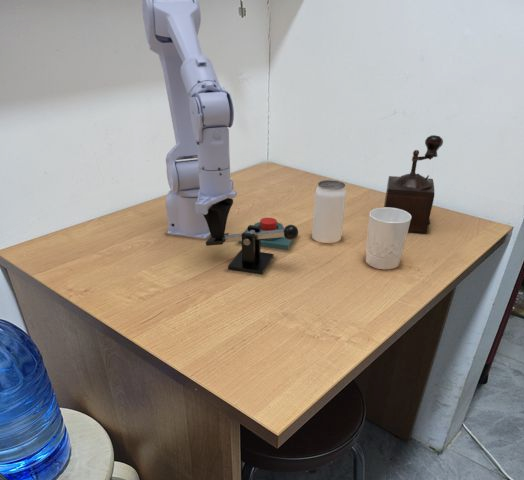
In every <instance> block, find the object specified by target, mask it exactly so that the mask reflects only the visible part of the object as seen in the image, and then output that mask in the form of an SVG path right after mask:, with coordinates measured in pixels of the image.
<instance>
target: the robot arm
mask: <svg viewBox="0 0 524 480" xmlns="http://www.w3.org/2000/svg"><path fill="white" fill-rule="evenodd" d="M141 2H142V3H141V6H142V7H141V8H142V9H141V10H142V20H143V25H144V31H145V36H146V41H147V43H148V46H149V50H150V51H151V52H153V53H155V54H157V55H158V58H159V61H160V64H161V68H162V73H163V77H164V78H163V79H164V83H165V88H166V94H167V100H168V105H169V112H170V118H171V122H172V123H171V124H172V129H173V134H174V139H175V145H174V146H173V147H172V148H171V149H170V150H169V151H168V153H166V157H165V165H166V178H167V182H168V187H169V189H170V190H169V191H168V193H167V194H166V199H165V210H166V211H165V212H166V219H167V228H168V229H167V231H166V234H168V235H174V236H180V237H187V238H194V239H195V238H196V239H202V240H206V239H207V240H208V239H209V238H210V237H212V238H217V239H221V238H222V237H223V236H224V233H226V228H227V227H226V226H227V221H228V217H229V215H230V214H229V213H230V212H231V211H230V210H231V208H232V207H233V204H234V198H236V196H238V192H237V190H234V179H232V178H231V161H230V160H231V158H230V156H231V155H230V128H232V126H233V124H234V119H235V110H234V109H235V108H234V102H233V98H232V96H231V95H232V94H231V93H230V91H229V90H227V89H226V88H225V86H221V85H220V82H219V80H218V77H217V75H216V72H215V68H214V66H213V64H212V61H211V59H210V58H209V57H208V56H205V55H204V54H203V52H202V48H201V45H200V40H199V37H198V35H199V31H200V27H201V23H202V21H201V19H202V18H201V7H200V2H199V0H142V1H141Z"/></svg>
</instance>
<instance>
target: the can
mask: <svg viewBox="0 0 524 480" xmlns="http://www.w3.org/2000/svg"><path fill="white" fill-rule="evenodd" d="M345 187H346V183H344V182H343V181H340V180H335V179H325V180H320V181H318V183H317V186H316V189H315V192H314V202H313V203H314V205H313V217H312V230H311V231H312V232H311V237H312V239H313V240H314V241H316V242H318V243H322V244H335V243H338V242H339V241H341V240H342V234H343V227H344V226H343V225H344V219H345V211H346V210H345V209H346V199H347V190H346V188H345Z"/></svg>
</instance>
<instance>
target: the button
mask: <svg viewBox="0 0 524 480" xmlns="http://www.w3.org/2000/svg"><path fill="white" fill-rule="evenodd" d="M259 222H260V227H261V229H262V230H266V231H271V230H276V229H277V222H278V220H277V219H276V218H273V217H263V218H261V219H260V220H259Z"/></svg>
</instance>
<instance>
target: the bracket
mask: <svg viewBox="0 0 524 480" xmlns="http://www.w3.org/2000/svg"><path fill="white" fill-rule="evenodd" d="M251 225H252V224H249V225H248V226H247V228H248V231H249V230H254V231H256V232H260V231H261V227H259V226H251ZM260 246H261V239H257V240H255V234H252V233H245V231H244V232H242V244H241V249H240V250H239V252H238V253H237V254H236V255H235V256H234V258H233V260H232V261H230V263H229V264H228V266H227V270H228V271H234V272H242V273H249V274H255V275H261V276H263V275H264V273H265V272H266V270H267V269H268V267H269V265H270V264H271V262H272V260H273V259H274V257H275V256H274V255H275V254H274V253H271V252H264V251H263V252H262V251H261V247H260Z"/></svg>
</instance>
